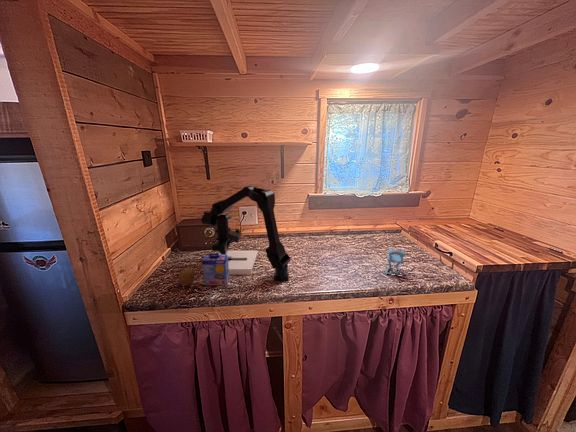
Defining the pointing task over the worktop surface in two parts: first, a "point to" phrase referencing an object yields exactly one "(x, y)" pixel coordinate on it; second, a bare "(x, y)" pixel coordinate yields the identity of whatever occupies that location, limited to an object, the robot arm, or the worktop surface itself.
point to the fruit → (186, 277)
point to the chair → (395, 259)
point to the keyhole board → (241, 262)
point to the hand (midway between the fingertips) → (225, 256)
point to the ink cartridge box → (215, 269)
